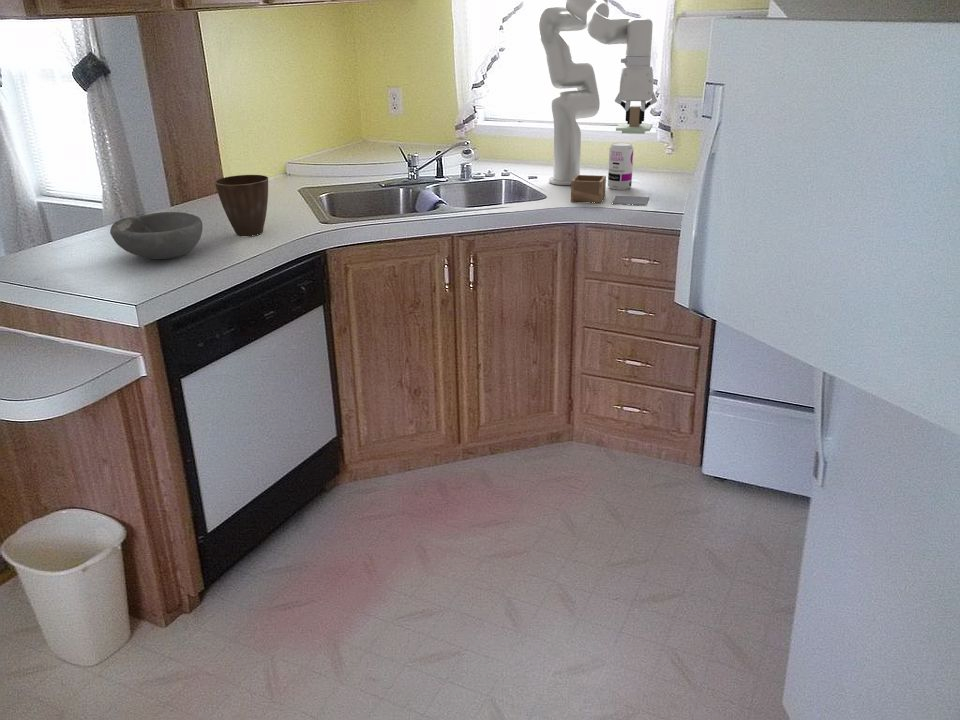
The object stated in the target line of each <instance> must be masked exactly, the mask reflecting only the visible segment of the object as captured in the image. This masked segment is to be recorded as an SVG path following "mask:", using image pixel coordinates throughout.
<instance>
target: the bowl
mask: <svg viewBox="0 0 960 720" xmlns="http://www.w3.org/2000/svg"><path fill="white" fill-rule="evenodd" d="M109 233H110V235H111V238H112V239H113V241H114V242H115V243H116V244H117V246H119V247H120V248H121V249H122V250H124V251H125V252H127V253H130V254H132V255H134V256H137V257H140V258H143V259H148V260H149V259H150V260H165V259H175V258H177V257H182V256H184V255H186V254H188V253H189V252H191V251H192V250H194V248H195V247H196V246H197V245H198V244H199V241H200V240H201V238H202V234H203V221H202V219H201V218H200V217H199V216H197V215H195V214H193V213H187V212H179V211H165V212H164V211H163V212H154V213H147V214H142V215H139V216H129V217H123V218H121V219H119V220H118V221H115V222H114V223H112V225H111V226H110V231H109Z"/></svg>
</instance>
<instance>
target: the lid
mask: <svg viewBox="0 0 960 720" xmlns="http://www.w3.org/2000/svg"><path fill="white" fill-rule="evenodd" d="M640 109H641V105H630V120H629V124H627V123H623V122H622V123H621V122H620V123H619V124H618V125H617V126H616V128H615V131H616V132H621V134H634V135H635V134H637V135H638V134H639V135H640V134H641V135H644V134H645V133H646V132H650V131H651V130H652V128H653V123H642V124H639V115H640Z"/></svg>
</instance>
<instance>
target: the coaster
mask: <svg viewBox="0 0 960 720" xmlns="http://www.w3.org/2000/svg"><path fill="white" fill-rule="evenodd" d="M649 199H650V197H649V196H635V195H633V196H632V195H631V196H630V195H615V196H614V198H613V200H612V202H611V204H612V203H613V204H612V205H616V204H630V205H629V206H639V205H646V206H647V203H648V202H647V201H649ZM632 204H633V205H632Z"/></svg>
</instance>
